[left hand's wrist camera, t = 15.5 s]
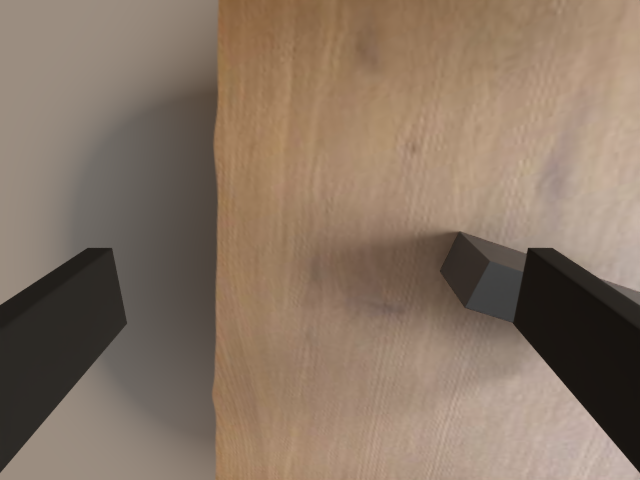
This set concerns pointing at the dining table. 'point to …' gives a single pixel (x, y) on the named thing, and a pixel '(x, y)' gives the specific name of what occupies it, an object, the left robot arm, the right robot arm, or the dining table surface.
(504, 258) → the bar
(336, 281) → the dining table surface
